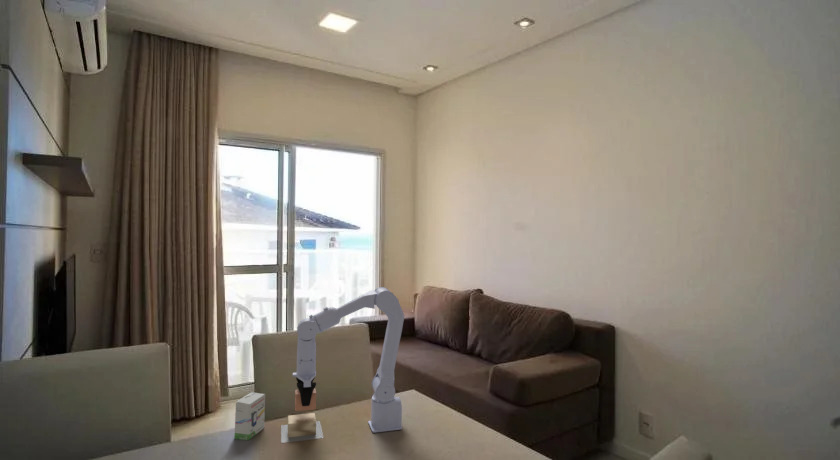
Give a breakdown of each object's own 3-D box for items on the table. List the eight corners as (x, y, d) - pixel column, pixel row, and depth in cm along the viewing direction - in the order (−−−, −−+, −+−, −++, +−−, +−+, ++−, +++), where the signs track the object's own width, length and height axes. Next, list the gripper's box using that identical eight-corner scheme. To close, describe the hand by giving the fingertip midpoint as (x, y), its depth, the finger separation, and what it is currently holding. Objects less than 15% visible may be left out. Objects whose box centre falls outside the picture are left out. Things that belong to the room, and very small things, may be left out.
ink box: (250, 429, 139) (250, 391, 139) (265, 431, 138) (265, 392, 138) (233, 442, 131) (234, 401, 131) (249, 444, 130) (249, 403, 130)
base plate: (319, 424, 144) (320, 420, 144) (323, 441, 132) (323, 437, 132) (280, 428, 140) (281, 425, 140) (281, 446, 128) (281, 443, 128)
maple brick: (314, 425, 140) (314, 412, 140) (315, 434, 134) (316, 420, 134) (287, 428, 138) (288, 415, 138) (288, 437, 132) (288, 423, 132)
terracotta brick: (314, 404, 140) (315, 388, 140) (315, 409, 136) (316, 392, 136) (294, 406, 138) (295, 389, 138) (295, 411, 134) (295, 394, 134)
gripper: (292, 352, 143) (291, 395, 143) (293, 366, 129) (292, 413, 129) (314, 351, 145) (313, 393, 145) (318, 364, 131) (317, 411, 131)
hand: (305, 402), depth 137 cm, fingers closed on terracotta brick, 4 cm apart
